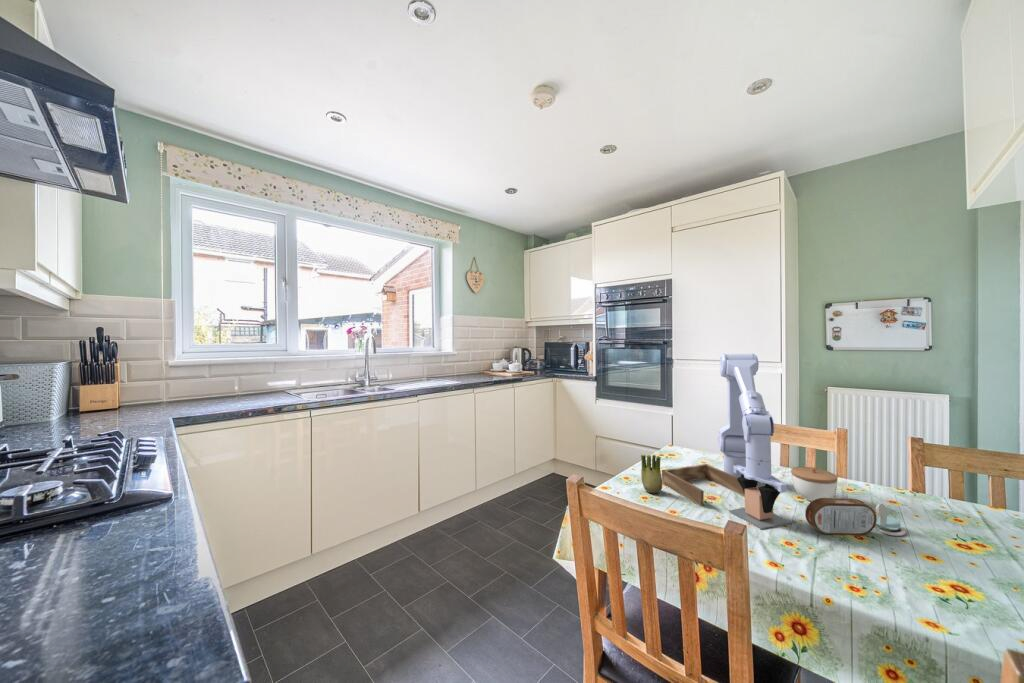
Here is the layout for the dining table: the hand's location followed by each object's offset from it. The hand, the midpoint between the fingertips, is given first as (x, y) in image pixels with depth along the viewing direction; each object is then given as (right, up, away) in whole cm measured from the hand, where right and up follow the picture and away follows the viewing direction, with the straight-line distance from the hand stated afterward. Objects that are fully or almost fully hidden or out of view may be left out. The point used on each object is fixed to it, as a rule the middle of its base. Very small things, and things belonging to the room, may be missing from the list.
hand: (759, 507), depth 100 cm
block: (0, -2, 0) cm, 2 cm away
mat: (0, -3, 0) cm, 3 cm away
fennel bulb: (-22, -3, +18) cm, 29 cm away
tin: (+15, -3, -9) cm, 17 cm away
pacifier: (+27, -2, -8) cm, 28 cm away
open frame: (-6, -2, +18) cm, 19 cm away
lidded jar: (+23, -2, +10) cm, 25 cm away
